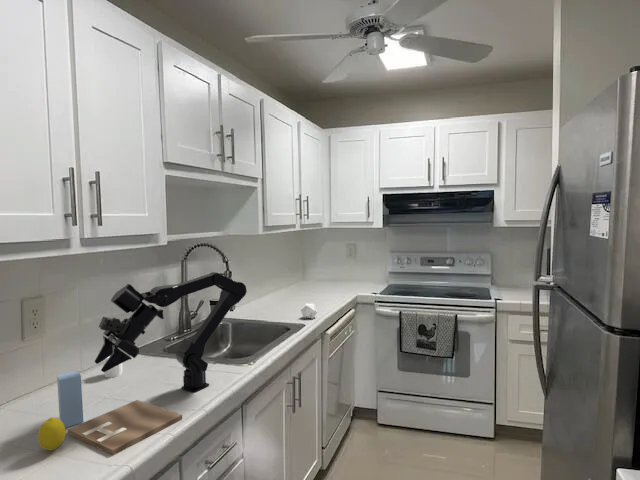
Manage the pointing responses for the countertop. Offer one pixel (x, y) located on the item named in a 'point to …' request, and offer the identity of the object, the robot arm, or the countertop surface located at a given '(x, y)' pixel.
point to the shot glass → (113, 369)
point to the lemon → (51, 434)
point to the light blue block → (70, 398)
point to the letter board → (124, 426)
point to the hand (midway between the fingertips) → (99, 367)
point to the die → (309, 311)
